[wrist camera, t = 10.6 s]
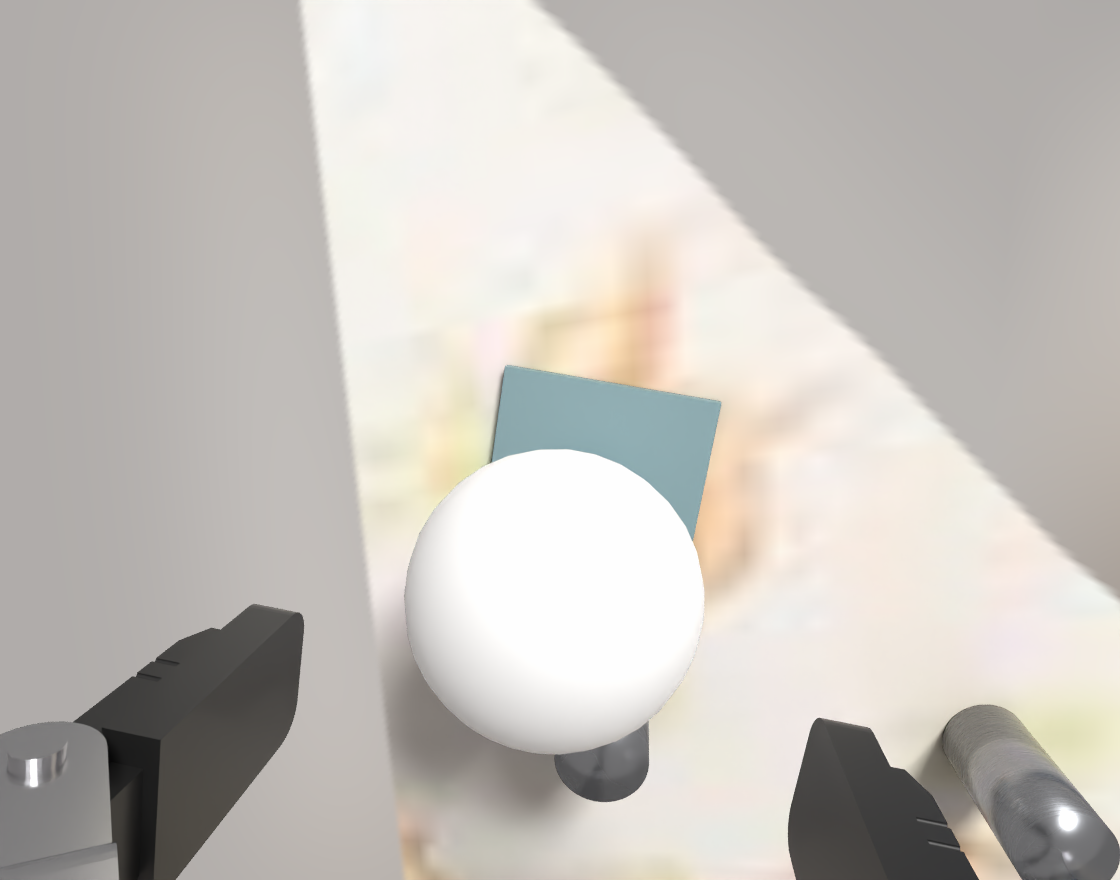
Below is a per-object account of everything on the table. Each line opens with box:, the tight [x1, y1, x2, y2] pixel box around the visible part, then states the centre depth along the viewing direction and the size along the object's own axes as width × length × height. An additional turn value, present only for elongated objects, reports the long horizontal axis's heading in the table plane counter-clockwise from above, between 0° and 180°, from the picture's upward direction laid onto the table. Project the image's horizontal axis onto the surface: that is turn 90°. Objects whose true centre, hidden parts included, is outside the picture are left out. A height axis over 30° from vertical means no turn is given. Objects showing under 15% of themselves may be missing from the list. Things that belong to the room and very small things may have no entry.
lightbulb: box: [404, 449, 704, 755], centre depth 18 cm, size 6×6×11 cm
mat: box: [492, 365, 721, 542], centre depth 24 cm, size 6×6×1 cm
